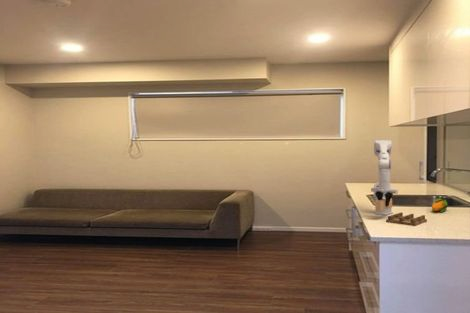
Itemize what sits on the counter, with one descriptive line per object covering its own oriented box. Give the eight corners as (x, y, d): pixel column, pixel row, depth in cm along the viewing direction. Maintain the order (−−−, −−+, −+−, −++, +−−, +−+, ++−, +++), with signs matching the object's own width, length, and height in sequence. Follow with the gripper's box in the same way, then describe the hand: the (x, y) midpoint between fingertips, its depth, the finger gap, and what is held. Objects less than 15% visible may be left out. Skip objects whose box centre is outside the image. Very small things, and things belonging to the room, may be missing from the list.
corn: (449, 197, 265) (441, 201, 249) (449, 209, 265) (441, 214, 249) (436, 197, 270) (427, 201, 254) (436, 209, 270) (428, 214, 254)
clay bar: (386, 207, 244) (387, 198, 244) (392, 207, 242) (392, 198, 242) (375, 210, 235) (375, 201, 234) (380, 210, 232) (380, 201, 232)
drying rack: (399, 217, 240) (399, 212, 240) (426, 221, 229) (426, 215, 229) (386, 222, 228) (386, 216, 228) (414, 226, 218) (414, 219, 218)
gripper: (368, 180, 240) (368, 205, 241) (393, 182, 230) (393, 208, 231) (374, 179, 245) (374, 203, 246) (399, 181, 235) (399, 206, 236)
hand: (384, 205), depth 238 cm, fingers closed on clay bar, 3 cm apart
